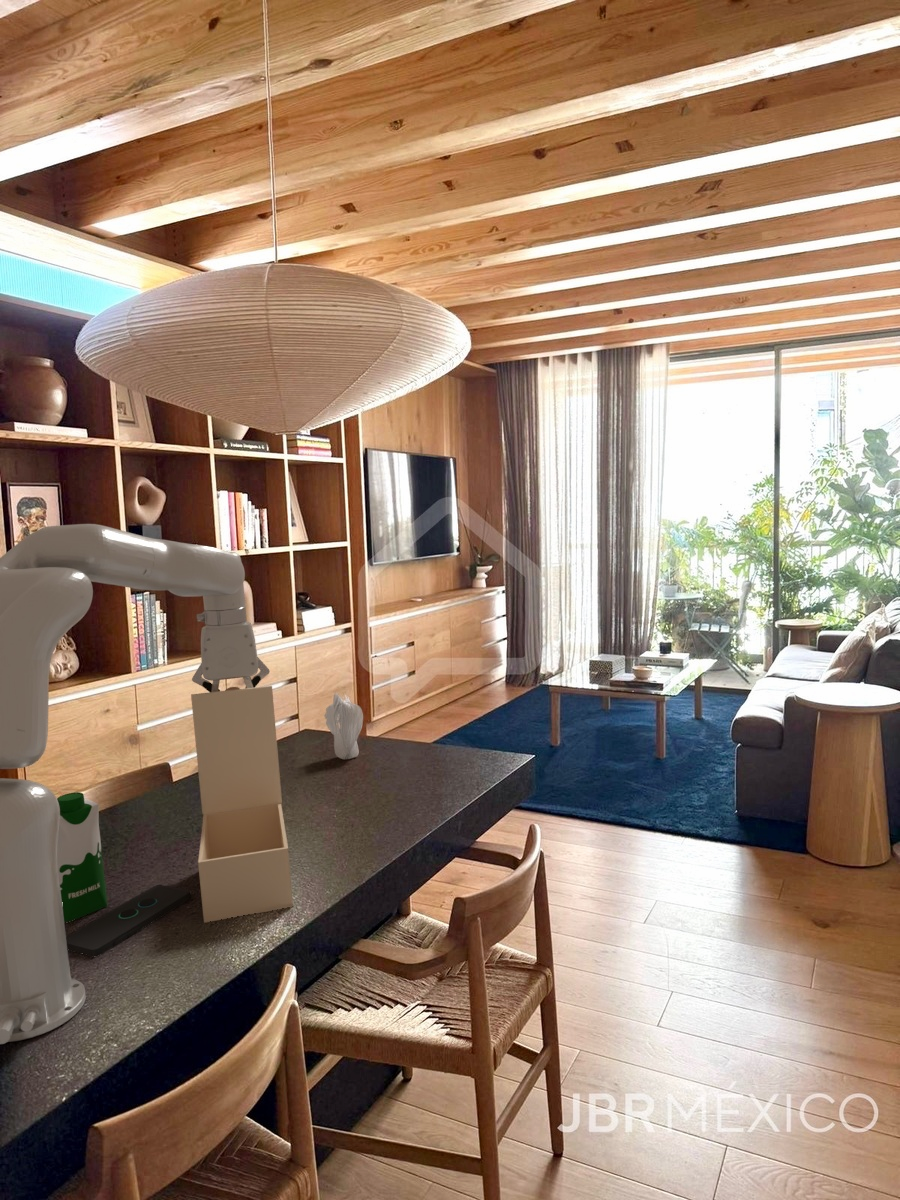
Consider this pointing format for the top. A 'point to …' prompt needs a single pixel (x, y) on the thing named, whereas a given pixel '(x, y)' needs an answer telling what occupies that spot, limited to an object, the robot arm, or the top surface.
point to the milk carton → (80, 857)
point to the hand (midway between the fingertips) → (234, 711)
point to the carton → (244, 863)
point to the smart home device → (126, 920)
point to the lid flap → (236, 749)
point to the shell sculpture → (344, 726)
